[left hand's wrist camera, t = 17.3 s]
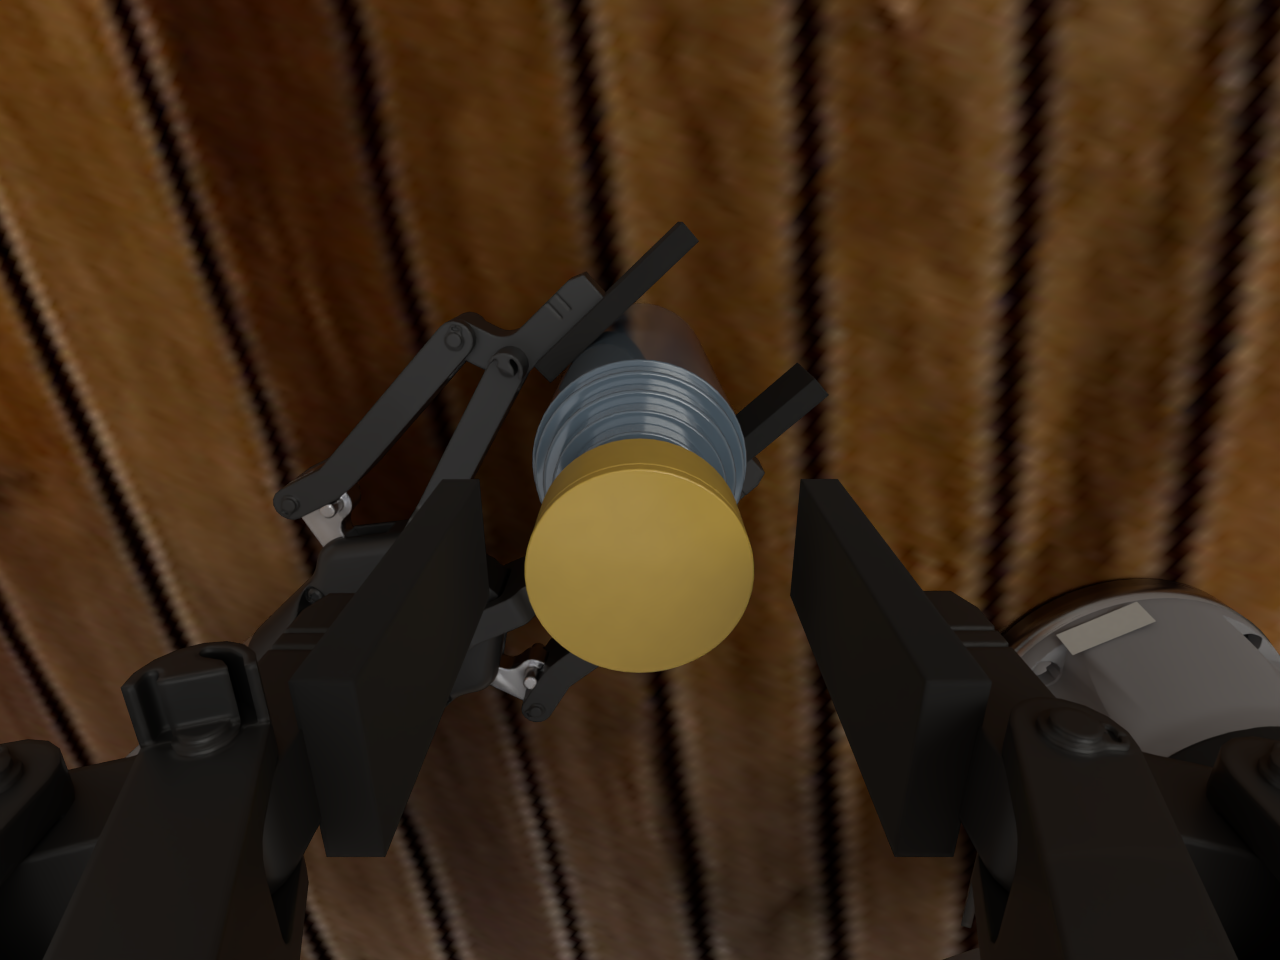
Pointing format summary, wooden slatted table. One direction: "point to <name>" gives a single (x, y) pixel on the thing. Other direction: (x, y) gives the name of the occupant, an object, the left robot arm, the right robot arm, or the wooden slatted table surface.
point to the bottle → (641, 399)
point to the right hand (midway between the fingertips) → (751, 308)
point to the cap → (639, 557)
